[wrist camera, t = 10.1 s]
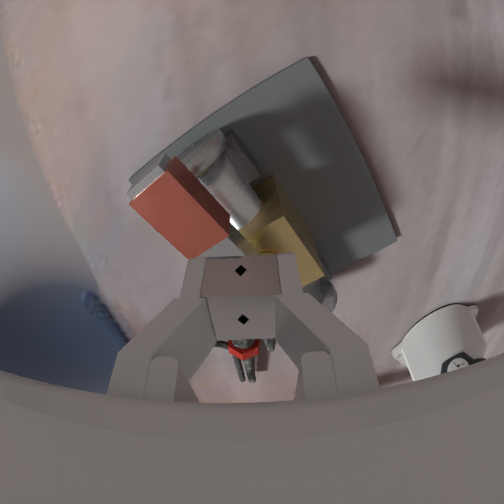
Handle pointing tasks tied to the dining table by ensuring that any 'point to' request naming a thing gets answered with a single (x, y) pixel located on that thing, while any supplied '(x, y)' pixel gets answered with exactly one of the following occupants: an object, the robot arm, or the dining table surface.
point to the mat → (305, 161)
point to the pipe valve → (258, 208)
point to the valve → (245, 354)
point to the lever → (186, 212)
